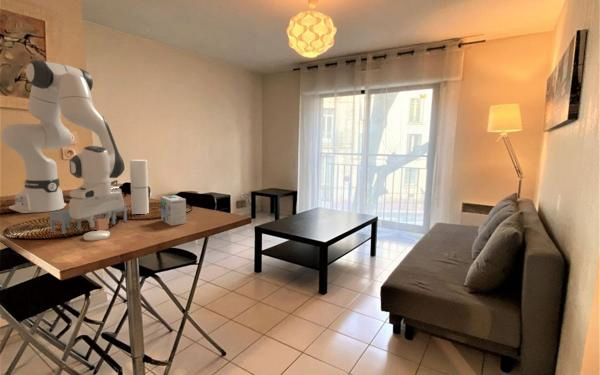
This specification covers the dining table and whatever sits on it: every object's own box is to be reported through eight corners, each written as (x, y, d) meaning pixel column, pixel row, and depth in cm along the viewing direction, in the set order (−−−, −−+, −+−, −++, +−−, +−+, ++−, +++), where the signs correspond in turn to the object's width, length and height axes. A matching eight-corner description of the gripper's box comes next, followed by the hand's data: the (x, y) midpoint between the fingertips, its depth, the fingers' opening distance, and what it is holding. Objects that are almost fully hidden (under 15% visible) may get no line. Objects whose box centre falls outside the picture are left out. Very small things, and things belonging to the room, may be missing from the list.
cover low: (68, 228, 120) (67, 209, 119) (81, 230, 118) (80, 211, 117) (51, 232, 114) (49, 212, 113) (63, 235, 112) (62, 214, 111)
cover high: (101, 222, 129) (100, 205, 128) (115, 219, 135) (114, 202, 134) (113, 224, 127) (112, 206, 126) (126, 220, 133) (126, 203, 132)
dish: (77, 238, 109) (77, 235, 109) (98, 232, 117) (98, 229, 117) (95, 241, 107) (95, 238, 107) (115, 235, 114) (115, 232, 114)
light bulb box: (160, 220, 137) (160, 196, 135) (176, 218, 141) (175, 194, 140) (171, 226, 129) (170, 200, 128) (186, 223, 134) (186, 198, 132)
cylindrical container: (141, 215, 143) (140, 161, 139) (128, 214, 144) (126, 160, 140) (152, 212, 150) (150, 160, 146) (139, 210, 151) (137, 159, 147)
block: (91, 230, 119) (90, 219, 119) (100, 227, 123) (100, 217, 122) (99, 231, 118) (98, 221, 117) (108, 228, 122) (108, 218, 121)
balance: (81, 222, 128) (79, 183, 125) (117, 213, 144) (115, 179, 141) (92, 224, 126) (90, 185, 124) (127, 215, 142) (126, 180, 140)
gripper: (115, 185, 129) (116, 217, 131) (64, 193, 109) (67, 230, 112) (127, 186, 127) (128, 219, 129) (78, 194, 108) (80, 233, 110)
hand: (99, 225), depth 120 cm, fingers closed on block, 4 cm apart
